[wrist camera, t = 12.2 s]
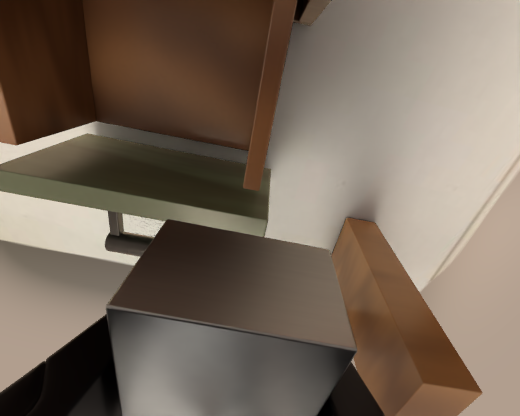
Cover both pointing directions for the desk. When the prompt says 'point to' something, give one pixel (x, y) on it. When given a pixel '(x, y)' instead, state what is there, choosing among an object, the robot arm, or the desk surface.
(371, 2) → the desk surface
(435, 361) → the stand
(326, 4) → the cabinet
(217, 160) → the drawer
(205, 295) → the brushed metal block
